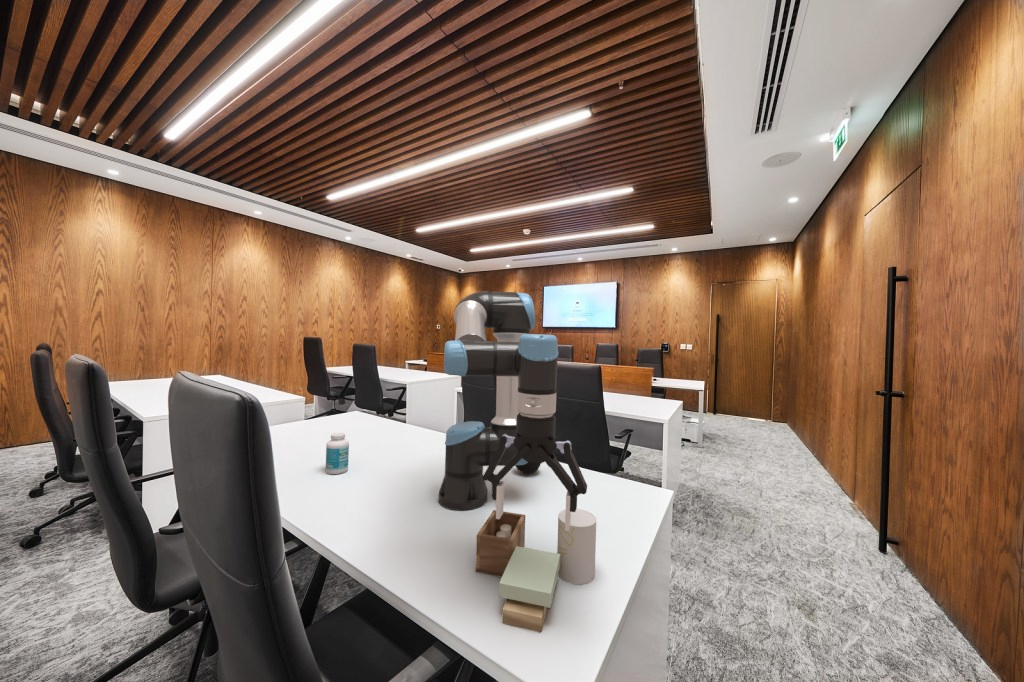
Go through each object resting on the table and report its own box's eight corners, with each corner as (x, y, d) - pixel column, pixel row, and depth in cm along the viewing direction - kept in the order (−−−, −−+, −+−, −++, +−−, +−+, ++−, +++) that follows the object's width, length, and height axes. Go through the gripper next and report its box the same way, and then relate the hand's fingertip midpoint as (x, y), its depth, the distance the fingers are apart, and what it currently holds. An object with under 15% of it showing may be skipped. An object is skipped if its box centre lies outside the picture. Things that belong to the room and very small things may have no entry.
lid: (550, 612, 65) (550, 593, 65) (498, 600, 68) (499, 583, 68) (559, 569, 78) (560, 553, 78) (515, 561, 80) (516, 546, 80)
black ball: (523, 466, 145) (524, 441, 145) (545, 472, 140) (546, 446, 139) (508, 473, 137) (509, 446, 137) (531, 480, 132) (532, 452, 131)
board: (541, 632, 64) (541, 617, 64) (502, 623, 66) (502, 609, 66) (554, 575, 80) (555, 563, 80) (522, 569, 81) (523, 557, 81)
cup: (553, 561, 85) (555, 508, 84) (588, 560, 85) (590, 508, 85) (561, 585, 77) (562, 527, 76) (599, 583, 77) (601, 526, 77)
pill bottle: (342, 475, 131) (343, 437, 131) (321, 474, 131) (322, 436, 131) (351, 468, 139) (352, 432, 139) (332, 467, 139) (332, 431, 139)
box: (511, 579, 78) (512, 541, 78) (475, 571, 80) (476, 535, 80) (524, 547, 90) (525, 514, 89) (492, 542, 92) (493, 510, 91)
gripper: (468, 412, 72) (466, 520, 72) (601, 424, 65) (597, 542, 66) (481, 404, 79) (479, 503, 80) (602, 415, 73) (598, 522, 73)
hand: (532, 521), depth 73 cm, fingers open, 13 cm apart
